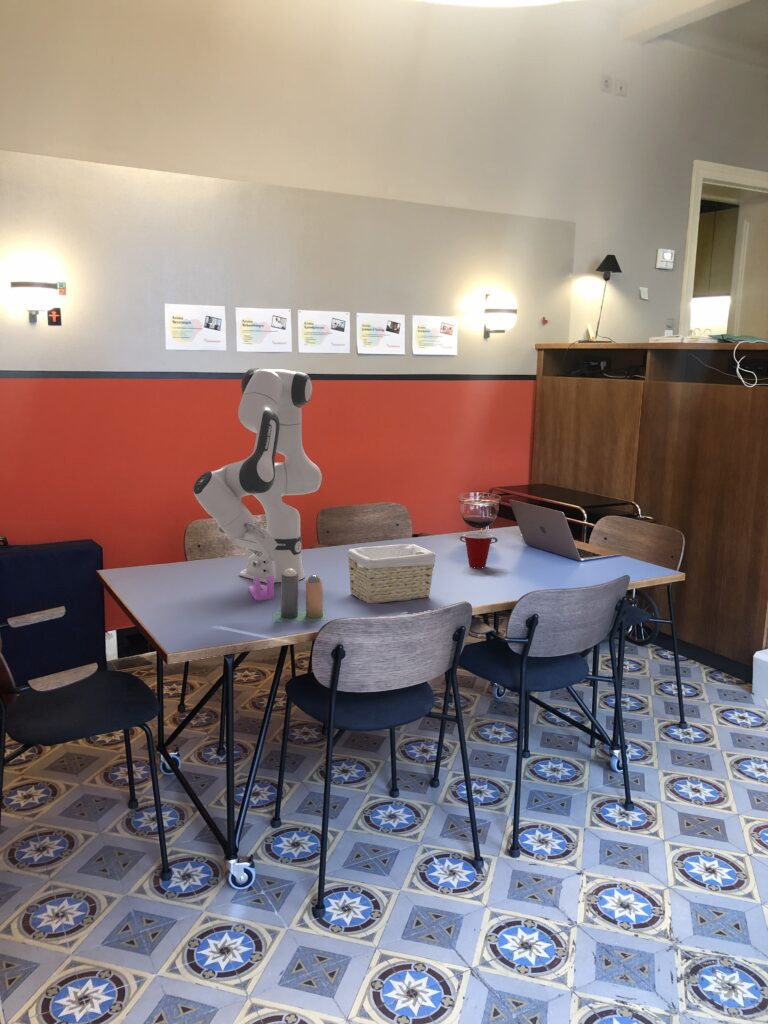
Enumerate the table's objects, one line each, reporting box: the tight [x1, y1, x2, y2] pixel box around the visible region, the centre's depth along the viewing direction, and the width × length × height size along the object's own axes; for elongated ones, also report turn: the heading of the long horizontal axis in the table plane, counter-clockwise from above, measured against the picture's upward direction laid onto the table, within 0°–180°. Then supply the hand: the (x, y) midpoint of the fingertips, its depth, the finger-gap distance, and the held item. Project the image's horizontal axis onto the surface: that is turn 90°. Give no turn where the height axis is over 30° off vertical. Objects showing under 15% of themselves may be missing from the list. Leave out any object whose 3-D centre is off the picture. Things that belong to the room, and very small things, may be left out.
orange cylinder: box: [304, 574, 324, 618], centre depth 222 cm, size 5×5×12 cm
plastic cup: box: [463, 532, 494, 569], centre depth 283 cm, size 11×11×12 cm
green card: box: [272, 610, 328, 623], centre depth 222 cm, size 15×9×1 cm, turn 97°
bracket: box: [248, 576, 275, 601], centre depth 245 cm, size 13×6×7 cm, turn 21°
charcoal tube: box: [280, 568, 300, 619], centre depth 221 cm, size 5×5×14 cm
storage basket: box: [347, 543, 436, 604], centre depth 245 cm, size 24×16×15 cm
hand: (267, 557), depth 223 cm, fingers open, 8 cm apart
